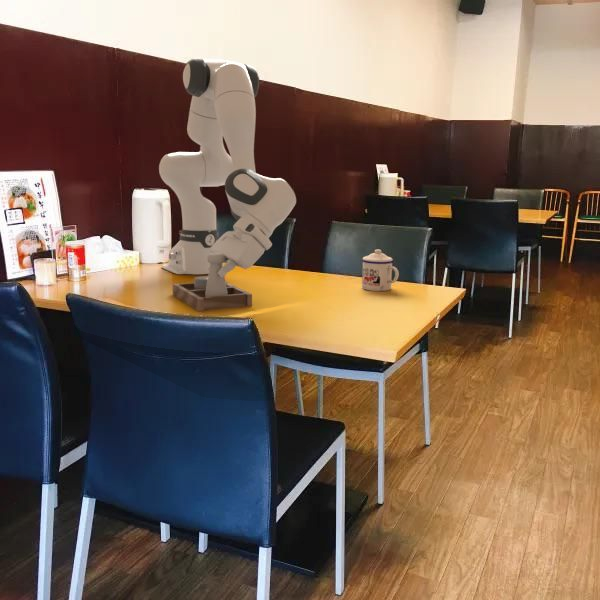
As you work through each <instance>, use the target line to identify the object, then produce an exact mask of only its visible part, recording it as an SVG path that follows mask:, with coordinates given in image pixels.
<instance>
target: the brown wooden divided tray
mask: <svg viewBox="0 0 600 600" xmlns="http://www.w3.org/2000/svg"><path fill="white" fill-rule="evenodd" d="M226 287H227V292H228V295H221V296H210V297H206V296H205V292H206V289H198V290H194V282H186V283H185V282H184V283H173V284H172V296H174V297H176V298H177V299H179V300H180V301H182V302H184V303H185V304H186V305H188V306H189V307H191V308H193V309H194V310H196V311H198V312H207V311H216V310H217V311H218V310H219V311H220V310H226V309H235V308H236V309H237V308H245V307H252V306H253V294H252V293H250V292H248V291H246V290H244V289H242V288H240V287H238V286H236V285H234V284H231V283H229V282H226Z"/></svg>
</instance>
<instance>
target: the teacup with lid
mask: <svg viewBox="0 0 600 600" xmlns="http://www.w3.org/2000/svg"><path fill="white" fill-rule="evenodd" d="M361 261H362V276H361V277H362V278H361V279H362V280H361V288H362V289H363V290H365V291H369V292H371V291H372V292H387V291H389V290H391V289H392V284H393V283H396V282H397V280H398V278H399V275H400V274H399V270H398V268H397V267H396V266H393V262H394V259H393V258H392V257H390V256H388V255H387V254H385V253H383V252H382V250H381V249H374V252H372V253H369V255H365V256H363V257H362V260H361ZM392 271H393V272H394V277H393V279H392Z"/></svg>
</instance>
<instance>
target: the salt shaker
mask: <svg viewBox="0 0 600 600" xmlns="http://www.w3.org/2000/svg"><path fill="white" fill-rule="evenodd" d="M208 262H209V263H210V267H209V273H208V274H207V276H208V279H207V285H206V292H205V296H206V297H210V296H221V295H228V292H227V287H226V275H225V276H224V277H220V276H219V275H218V274H217V273H216V272H217V271H218V269H219V268H220V267H221V268H222V267H223V265H224V264H223V263H225V262H226V261H225V257H224V255H223V254H222V253H211V254H209V255H208Z"/></svg>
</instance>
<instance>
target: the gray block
mask: <svg viewBox="0 0 600 600" xmlns="http://www.w3.org/2000/svg"><path fill="white" fill-rule="evenodd" d="M207 279H208V275H207V276H205V275H204V276H197V277H194V278H193V283H194V290H198V289H206V285H207Z"/></svg>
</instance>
